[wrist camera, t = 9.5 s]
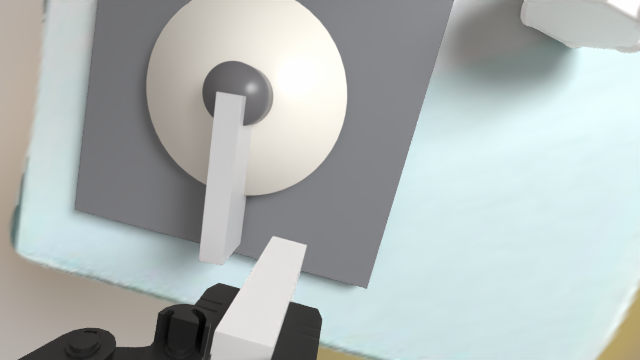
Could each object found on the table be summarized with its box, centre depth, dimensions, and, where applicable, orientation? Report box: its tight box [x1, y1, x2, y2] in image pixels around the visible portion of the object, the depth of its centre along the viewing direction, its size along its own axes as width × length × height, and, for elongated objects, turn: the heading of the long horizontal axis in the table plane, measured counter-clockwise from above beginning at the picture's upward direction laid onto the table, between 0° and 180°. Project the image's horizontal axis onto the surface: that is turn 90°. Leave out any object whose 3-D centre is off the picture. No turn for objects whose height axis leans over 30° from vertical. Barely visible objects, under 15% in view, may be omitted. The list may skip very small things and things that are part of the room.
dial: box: [146, 0, 347, 265], centre depth 24 cm, size 18×14×4 cm
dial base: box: [75, 0, 454, 288], centre depth 27 cm, size 24×24×2 cm
